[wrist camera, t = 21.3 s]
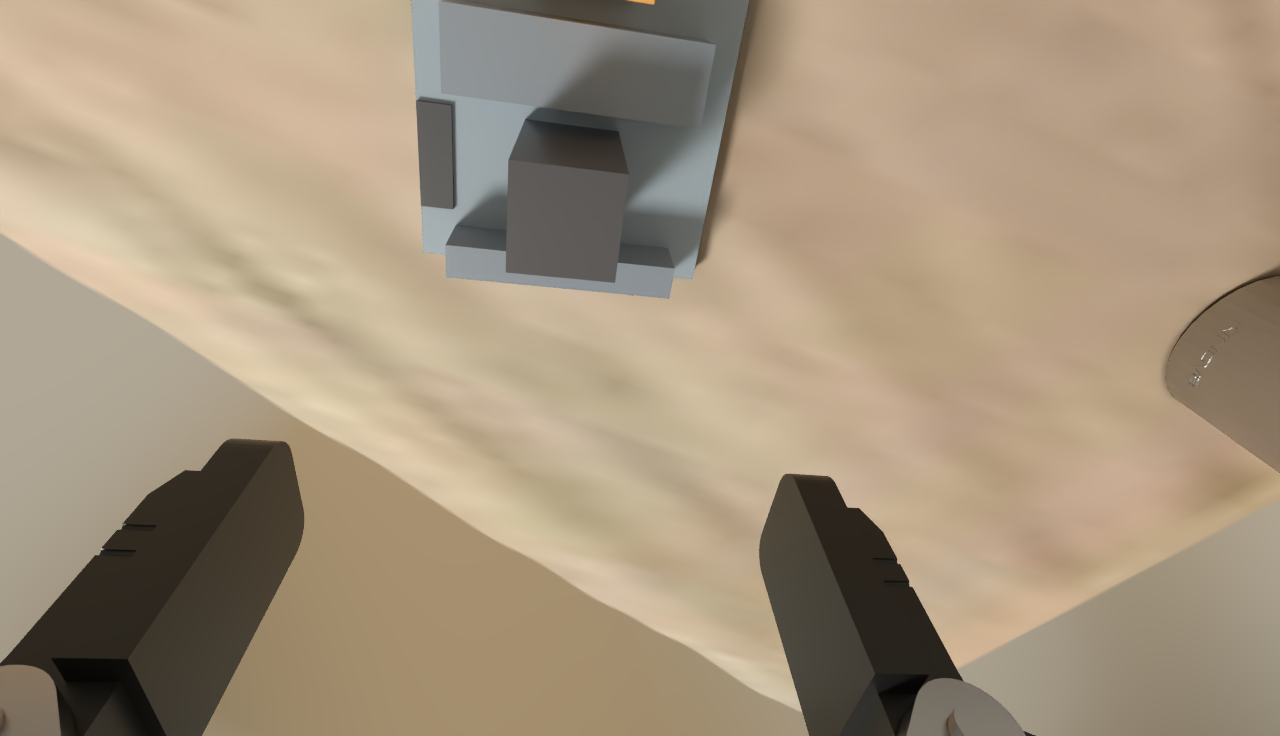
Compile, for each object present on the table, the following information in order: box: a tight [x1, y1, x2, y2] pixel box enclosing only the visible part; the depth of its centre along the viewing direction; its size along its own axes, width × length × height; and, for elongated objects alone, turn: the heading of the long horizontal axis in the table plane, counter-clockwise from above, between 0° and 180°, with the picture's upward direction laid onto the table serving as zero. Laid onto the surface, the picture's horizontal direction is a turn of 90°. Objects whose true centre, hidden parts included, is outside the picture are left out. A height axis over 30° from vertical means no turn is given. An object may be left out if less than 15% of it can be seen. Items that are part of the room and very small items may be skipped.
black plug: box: [506, 119, 629, 283], centre depth 24 cm, size 4×4×7 cm
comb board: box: [411, 0, 749, 299], centre depth 24 cm, size 13×18×4 cm
